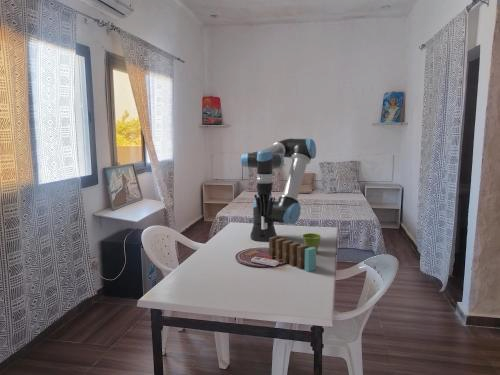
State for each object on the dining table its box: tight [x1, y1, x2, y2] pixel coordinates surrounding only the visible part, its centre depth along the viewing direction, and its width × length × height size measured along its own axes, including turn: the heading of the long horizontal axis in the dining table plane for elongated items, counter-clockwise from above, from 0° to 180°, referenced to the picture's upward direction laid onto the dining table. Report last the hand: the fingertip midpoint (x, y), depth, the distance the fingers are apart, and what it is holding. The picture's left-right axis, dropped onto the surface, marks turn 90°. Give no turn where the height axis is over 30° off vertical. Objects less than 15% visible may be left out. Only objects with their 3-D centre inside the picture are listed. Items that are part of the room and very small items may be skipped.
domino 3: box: [281, 239, 294, 264], centre depth 177 cm, size 2×5×10 cm, turn 131°
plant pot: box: [301, 233, 322, 254], centre depth 191 cm, size 9×9×9 cm
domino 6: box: [304, 247, 317, 273], centre depth 167 cm, size 2×5×10 cm, turn 130°
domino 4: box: [289, 241, 302, 267], centre depth 174 cm, size 2×5×10 cm, turn 131°
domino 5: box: [296, 243, 308, 270], centre depth 170 cm, size 2×5×10 cm, turn 130°
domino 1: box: [268, 235, 281, 257], centre depth 184 cm, size 2×5×10 cm, turn 131°
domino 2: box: [275, 237, 287, 260], centre depth 181 cm, size 2×5×10 cm, turn 130°
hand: (264, 228), depth 188 cm, fingers closed
